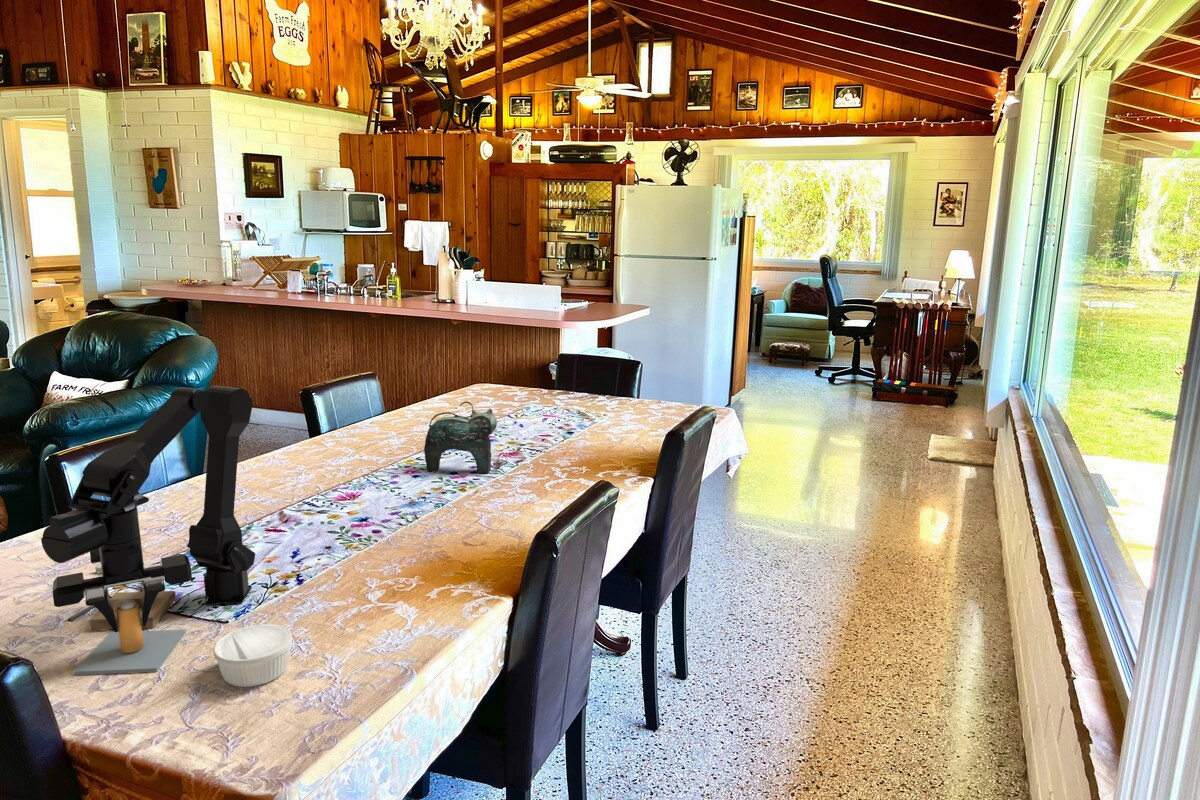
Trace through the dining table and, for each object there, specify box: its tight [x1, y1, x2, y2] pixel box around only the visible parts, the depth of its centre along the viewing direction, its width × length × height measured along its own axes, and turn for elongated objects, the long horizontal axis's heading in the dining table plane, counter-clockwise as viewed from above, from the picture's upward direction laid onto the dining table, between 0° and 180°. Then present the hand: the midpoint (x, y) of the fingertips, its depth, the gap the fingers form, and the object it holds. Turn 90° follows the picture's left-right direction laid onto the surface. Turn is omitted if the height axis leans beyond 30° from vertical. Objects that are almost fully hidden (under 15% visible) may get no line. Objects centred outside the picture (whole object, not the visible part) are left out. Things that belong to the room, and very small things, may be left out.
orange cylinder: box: [116, 599, 144, 653], centre depth 130 cm, size 3×3×8 cm
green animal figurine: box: [423, 400, 498, 475], centre depth 223 cm, size 20×6×20 cm, turn 84°
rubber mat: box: [73, 629, 187, 676], centre depth 131 cm, size 12×12×1 cm
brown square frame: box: [89, 590, 177, 631], centre depth 143 cm, size 10×10×2 cm
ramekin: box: [212, 623, 293, 688], centre depth 126 cm, size 11×11×5 cm
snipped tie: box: [67, 605, 96, 622], centre depth 144 cm, size 7×1×1 cm, turn 167°
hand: (130, 628), depth 130 cm, fingers open, 4 cm apart
